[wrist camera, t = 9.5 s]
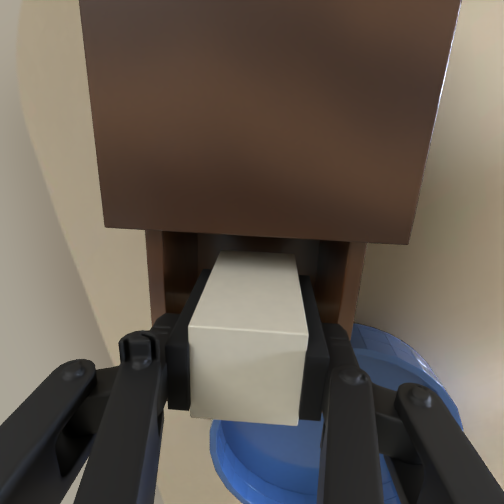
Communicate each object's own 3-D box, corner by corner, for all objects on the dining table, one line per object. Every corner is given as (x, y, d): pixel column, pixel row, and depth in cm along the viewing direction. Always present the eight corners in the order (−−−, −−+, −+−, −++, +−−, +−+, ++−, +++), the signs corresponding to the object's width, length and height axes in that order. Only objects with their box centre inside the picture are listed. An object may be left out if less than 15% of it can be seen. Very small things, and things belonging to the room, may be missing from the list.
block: (219, 313, 19) (190, 418, 12) (220, 249, 18) (187, 325, 11) (288, 318, 19) (298, 426, 12) (294, 253, 18) (309, 334, 11)
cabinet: (350, 196, 23) (409, 245, 14) (173, 186, 24) (104, 228, 14) (386, -45, 19) (515, -241, 9) (164, -51, 19) (49, -244, 9)
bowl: (215, 484, 34) (209, 522, 31) (216, 313, 27) (209, 337, 24) (414, 501, 34) (430, 541, 30) (468, 329, 27) (496, 357, 23)
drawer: (325, 337, 27) (349, 432, 18) (183, 328, 27) (144, 416, 19) (350, 159, 22) (398, 178, 14) (177, 151, 22) (121, 164, 14)
